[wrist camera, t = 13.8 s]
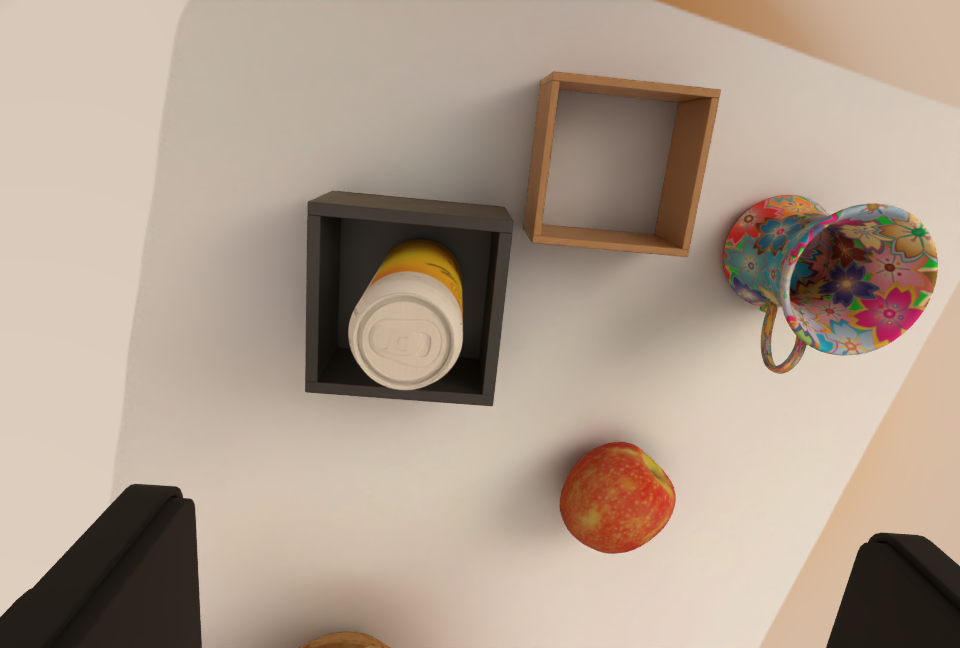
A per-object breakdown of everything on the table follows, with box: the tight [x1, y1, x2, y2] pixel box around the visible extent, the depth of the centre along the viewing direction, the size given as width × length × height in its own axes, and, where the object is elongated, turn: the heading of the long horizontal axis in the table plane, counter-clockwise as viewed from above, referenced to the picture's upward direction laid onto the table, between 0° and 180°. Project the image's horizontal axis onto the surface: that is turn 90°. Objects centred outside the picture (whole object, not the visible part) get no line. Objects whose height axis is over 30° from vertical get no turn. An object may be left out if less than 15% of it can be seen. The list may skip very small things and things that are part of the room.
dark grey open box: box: [305, 191, 513, 406], centre depth 43 cm, size 13×13×8 cm
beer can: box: [348, 239, 463, 390], centre depth 39 cm, size 6×6×15 cm
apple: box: [560, 442, 676, 554], centre depth 48 cm, size 8×8×8 cm
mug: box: [723, 195, 938, 374], centre depth 42 cm, size 12×9×11 cm
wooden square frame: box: [523, 72, 721, 257], centre depth 41 cm, size 10×10×6 cm
